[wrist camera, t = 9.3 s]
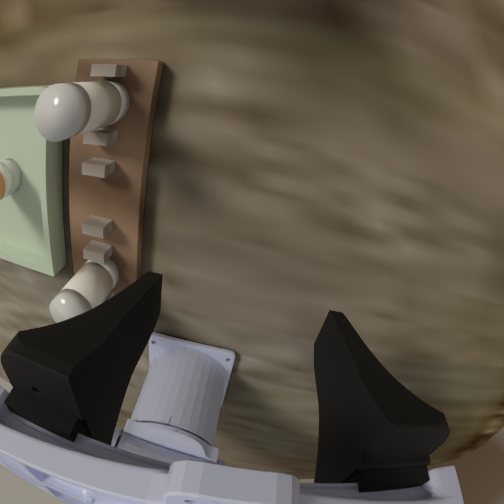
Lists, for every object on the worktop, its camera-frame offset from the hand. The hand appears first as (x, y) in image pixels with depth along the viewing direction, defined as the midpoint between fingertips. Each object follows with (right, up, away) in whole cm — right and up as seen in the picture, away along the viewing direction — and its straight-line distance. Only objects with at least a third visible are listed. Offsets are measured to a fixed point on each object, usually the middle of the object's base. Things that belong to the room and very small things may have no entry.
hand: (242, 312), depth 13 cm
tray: (-20, +9, +8) cm, 23 cm away
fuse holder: (-10, +7, +8) cm, 15 cm away
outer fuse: (-9, +12, +4) cm, 16 cm away
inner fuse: (-12, +1, +10) cm, 16 cm away
